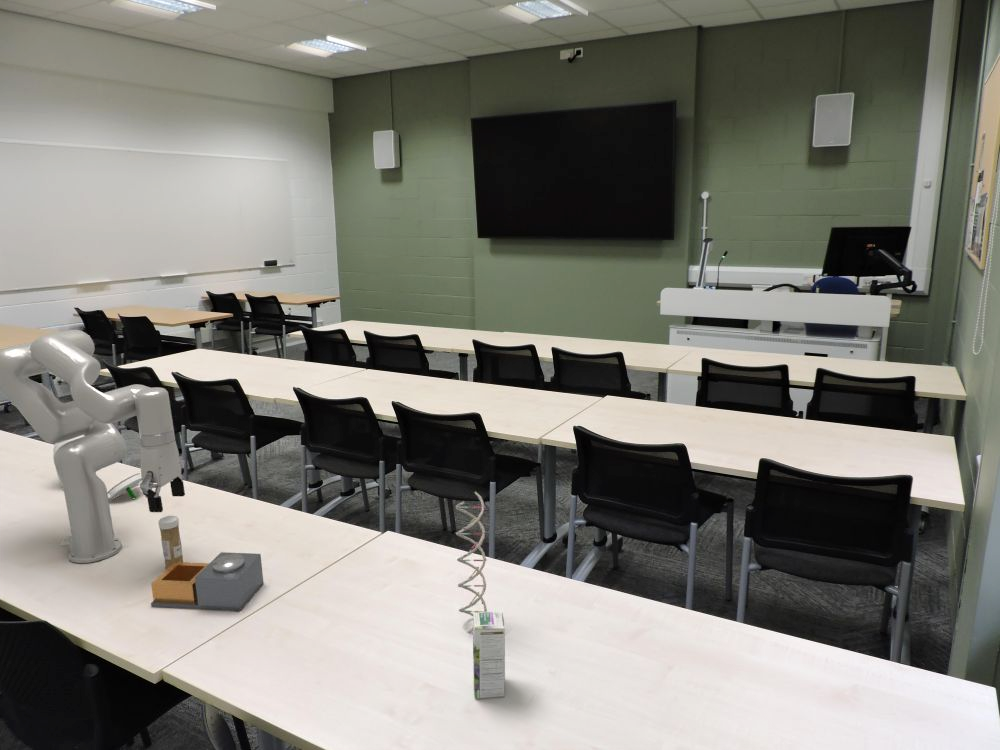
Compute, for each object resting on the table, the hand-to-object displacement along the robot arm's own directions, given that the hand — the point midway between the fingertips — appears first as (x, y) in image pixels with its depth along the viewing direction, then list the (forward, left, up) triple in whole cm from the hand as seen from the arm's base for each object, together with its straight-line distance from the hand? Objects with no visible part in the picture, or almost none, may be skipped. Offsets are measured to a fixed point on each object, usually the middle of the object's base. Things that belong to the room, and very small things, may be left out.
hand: (167, 503), depth 174 cm
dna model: (+79, -19, -18) cm, 84 cm away
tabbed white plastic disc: (-41, +41, -18) cm, 61 cm away
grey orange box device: (+15, -10, -18) cm, 25 cm away
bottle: (-65, +50, -18) cm, 84 cm away
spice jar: (-1, 0, -18) cm, 18 cm away
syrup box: (+85, -39, -18) cm, 96 cm away
